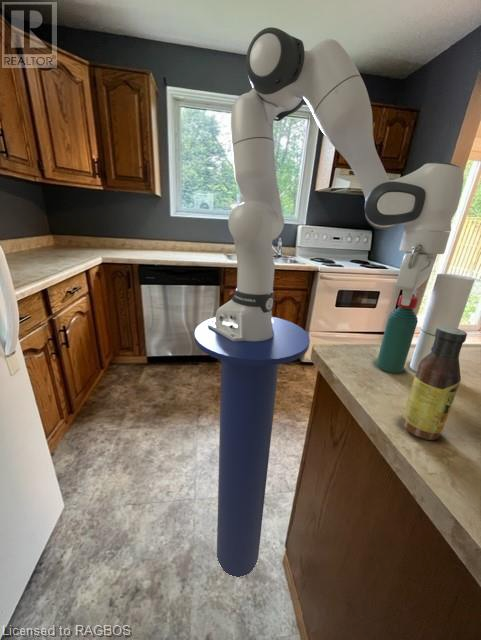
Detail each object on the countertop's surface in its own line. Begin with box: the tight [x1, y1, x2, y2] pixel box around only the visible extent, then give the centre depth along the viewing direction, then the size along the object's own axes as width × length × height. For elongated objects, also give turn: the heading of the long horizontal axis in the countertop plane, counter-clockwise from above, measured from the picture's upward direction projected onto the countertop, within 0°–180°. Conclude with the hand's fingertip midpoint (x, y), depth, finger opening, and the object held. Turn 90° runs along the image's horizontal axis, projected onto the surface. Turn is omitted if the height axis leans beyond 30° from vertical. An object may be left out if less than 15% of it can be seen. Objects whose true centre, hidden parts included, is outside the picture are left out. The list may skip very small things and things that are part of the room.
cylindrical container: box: [409, 273, 476, 373], centre depth 68 cm, size 7×7×25 cm
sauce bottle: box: [402, 326, 468, 441], centre depth 47 cm, size 6×6×20 cm
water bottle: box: [375, 306, 419, 374], centre depth 69 cm, size 6×6×19 cm
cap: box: [397, 294, 419, 310], centre depth 66 cm, size 4×4×2 cm
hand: (407, 302), depth 66 cm, fingers closed on cap, 4 cm apart
